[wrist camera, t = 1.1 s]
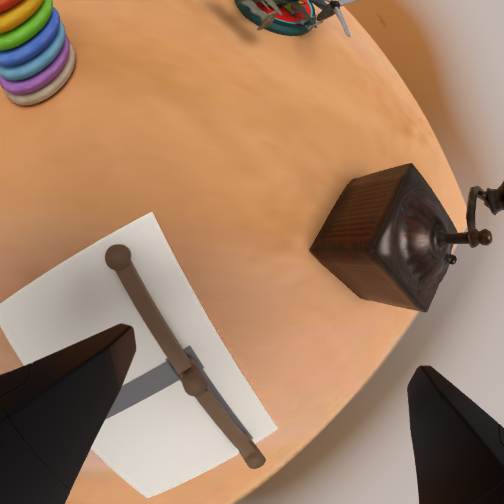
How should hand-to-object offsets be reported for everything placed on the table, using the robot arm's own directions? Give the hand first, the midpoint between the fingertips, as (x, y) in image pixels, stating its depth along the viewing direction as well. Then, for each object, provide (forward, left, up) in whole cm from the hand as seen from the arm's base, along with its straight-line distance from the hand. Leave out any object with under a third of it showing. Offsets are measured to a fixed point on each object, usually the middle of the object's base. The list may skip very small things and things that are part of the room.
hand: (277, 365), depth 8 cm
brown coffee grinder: (+22, -5, -19) cm, 29 cm away
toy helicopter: (+23, +25, -19) cm, 39 cm away
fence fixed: (-3, -12, -18) cm, 22 cm away
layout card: (-8, -6, -18) cm, 21 cm away
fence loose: (-3, 0, -17) cm, 18 cm away
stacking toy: (-4, +25, -19) cm, 32 cm away
